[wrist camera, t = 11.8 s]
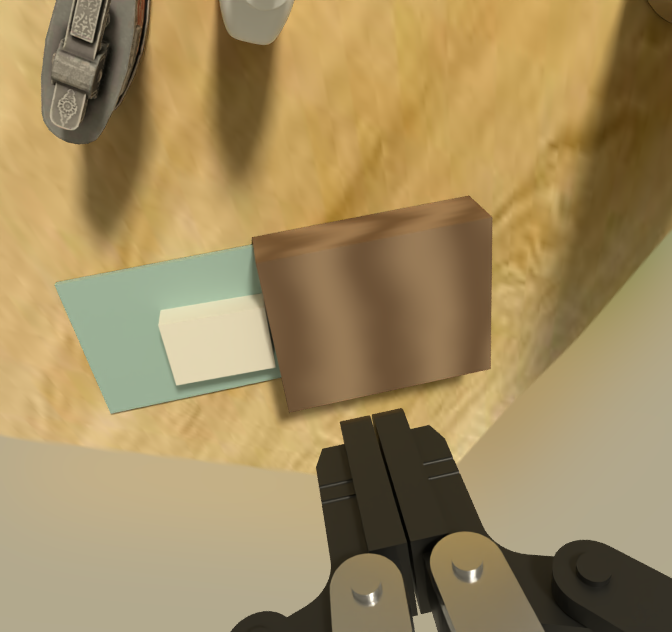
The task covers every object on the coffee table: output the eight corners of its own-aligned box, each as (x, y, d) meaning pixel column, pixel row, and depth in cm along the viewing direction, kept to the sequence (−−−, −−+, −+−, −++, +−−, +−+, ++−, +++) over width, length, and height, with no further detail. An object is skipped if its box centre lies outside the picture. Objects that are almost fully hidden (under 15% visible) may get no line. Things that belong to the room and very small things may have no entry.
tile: (262, 292, 41) (264, 307, 40) (273, 351, 44) (275, 367, 42) (160, 310, 41) (158, 325, 39) (177, 368, 43) (176, 385, 42)
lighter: (125, 119, 34) (96, 171, 26) (63, 96, 33) (12, 143, 25) (164, -28, 31) (145, -24, 23) (96, -60, 30) (50, -67, 22)
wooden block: (469, 195, 41) (492, 217, 37) (470, 339, 47) (490, 368, 44) (252, 237, 39) (255, 263, 36) (283, 379, 46) (289, 412, 42)
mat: (253, 244, 40) (254, 246, 39) (282, 374, 46) (283, 377, 45) (56, 282, 39) (54, 285, 38) (111, 410, 45) (110, 413, 44)
